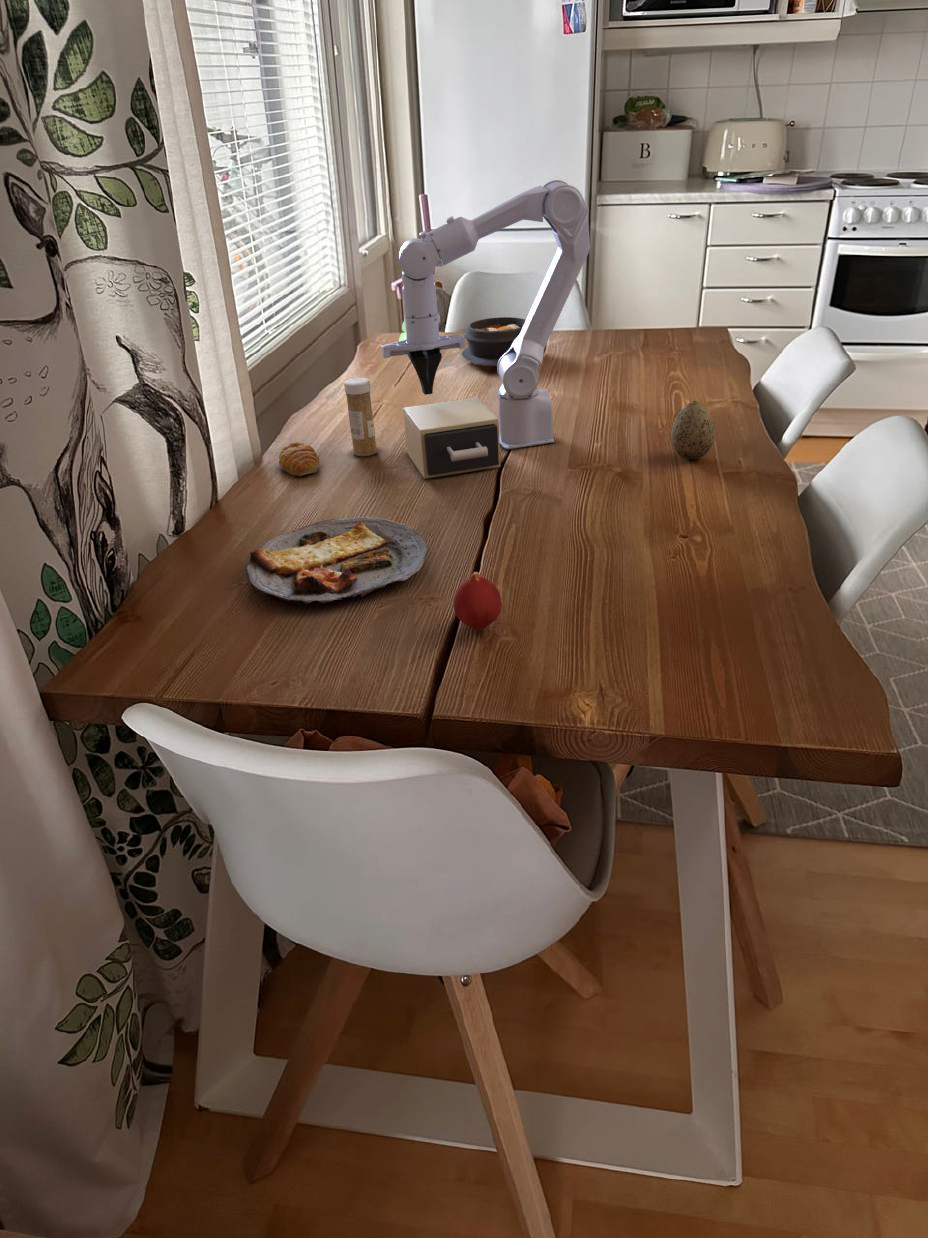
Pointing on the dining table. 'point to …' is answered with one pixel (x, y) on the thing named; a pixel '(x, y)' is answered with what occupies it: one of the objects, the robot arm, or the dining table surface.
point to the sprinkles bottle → (360, 416)
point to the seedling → (403, 335)
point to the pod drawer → (461, 449)
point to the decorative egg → (693, 431)
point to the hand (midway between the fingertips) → (427, 392)
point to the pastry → (298, 459)
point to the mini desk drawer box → (443, 426)
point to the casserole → (491, 339)
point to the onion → (477, 602)
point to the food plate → (336, 559)
